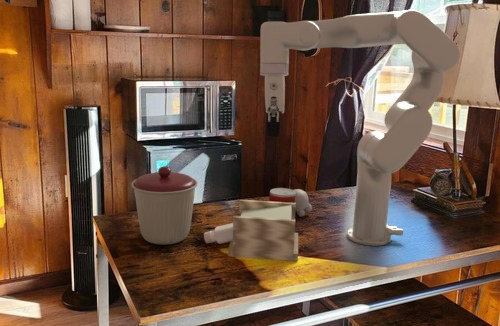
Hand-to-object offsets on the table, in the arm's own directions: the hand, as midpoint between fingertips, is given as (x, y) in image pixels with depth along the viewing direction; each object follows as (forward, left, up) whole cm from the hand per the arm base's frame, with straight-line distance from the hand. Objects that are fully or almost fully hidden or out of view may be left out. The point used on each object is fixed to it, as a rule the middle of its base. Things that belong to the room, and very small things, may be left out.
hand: (273, 132), depth 136 cm
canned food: (-3, -11, -31) cm, 33 cm away
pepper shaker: (+8, +7, -26) cm, 28 cm away
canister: (+29, +5, -31) cm, 43 cm away
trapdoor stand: (+1, +7, -31) cm, 32 cm away
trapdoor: (+1, +7, -23) cm, 25 cm away
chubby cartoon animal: (-7, -21, -31) cm, 38 cm away
